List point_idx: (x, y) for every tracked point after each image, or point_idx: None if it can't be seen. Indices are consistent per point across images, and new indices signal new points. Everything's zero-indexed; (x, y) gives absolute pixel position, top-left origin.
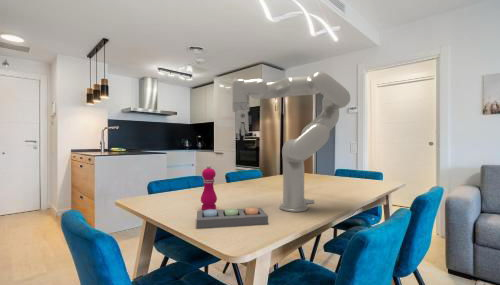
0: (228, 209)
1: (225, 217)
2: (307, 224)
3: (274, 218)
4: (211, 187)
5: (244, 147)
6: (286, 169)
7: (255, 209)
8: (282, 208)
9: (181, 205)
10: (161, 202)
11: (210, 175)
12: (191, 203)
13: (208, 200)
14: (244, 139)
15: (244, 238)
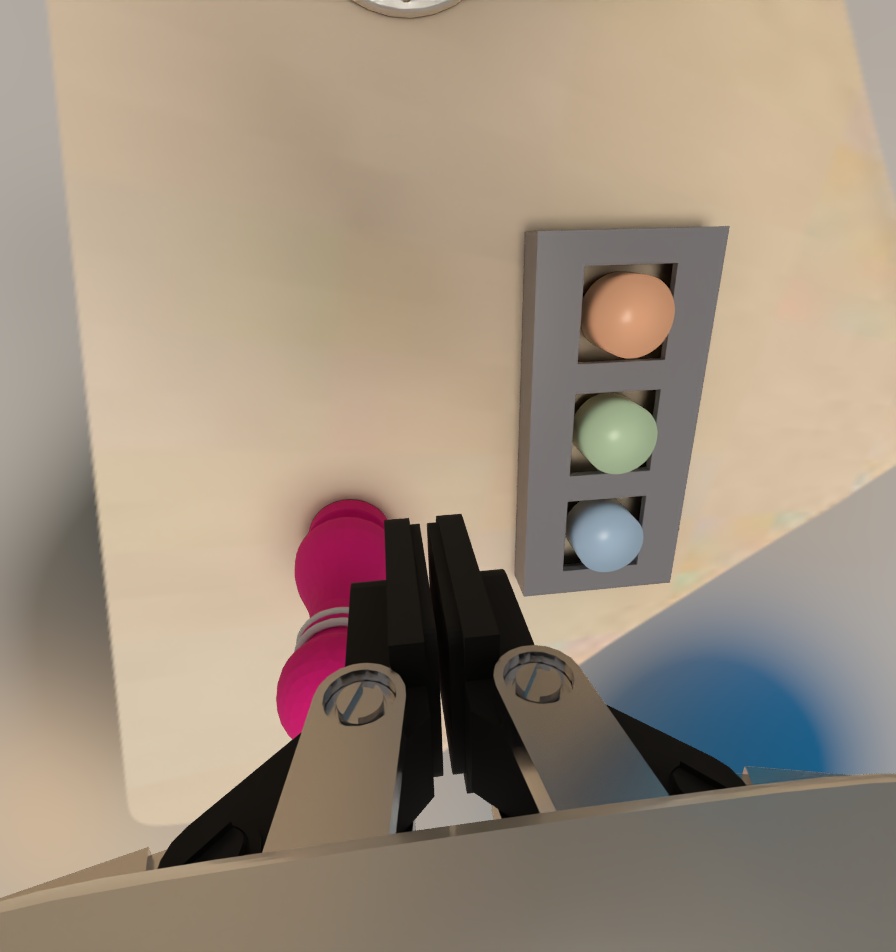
0: (605, 455)
1: (673, 465)
2: None
3: (615, 152)
4: None
5: (464, 532)
6: None
7: (653, 295)
8: (445, 5)
9: (261, 673)
10: (192, 769)
11: None
12: (213, 634)
13: None
14: (570, 663)
15: (823, 379)
